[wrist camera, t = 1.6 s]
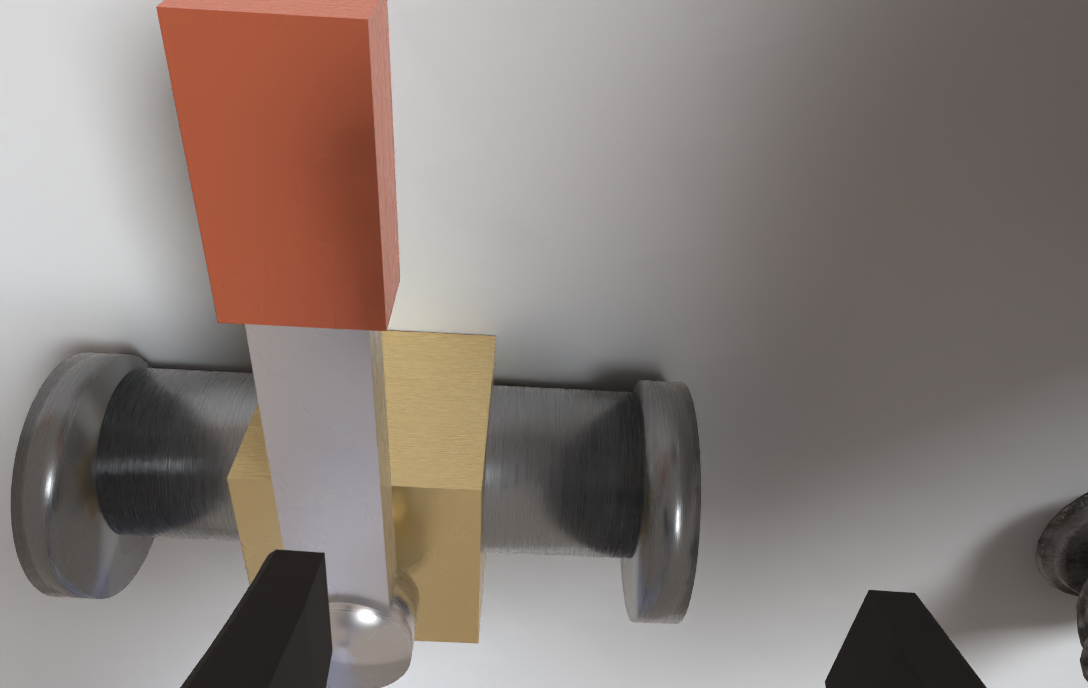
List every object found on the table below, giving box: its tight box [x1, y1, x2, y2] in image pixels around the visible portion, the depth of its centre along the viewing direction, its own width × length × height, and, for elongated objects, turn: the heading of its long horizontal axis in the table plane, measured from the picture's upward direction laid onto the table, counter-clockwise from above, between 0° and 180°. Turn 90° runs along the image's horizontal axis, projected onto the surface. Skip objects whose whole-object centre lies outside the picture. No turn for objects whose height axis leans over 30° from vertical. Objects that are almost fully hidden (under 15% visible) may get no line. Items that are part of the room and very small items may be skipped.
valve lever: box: [156, 0, 420, 688], centre depth 15 cm, size 14×3×1 cm, turn 177°
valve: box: [11, 330, 701, 643], centre depth 21 cm, size 14×6×6 cm, turn 87°
